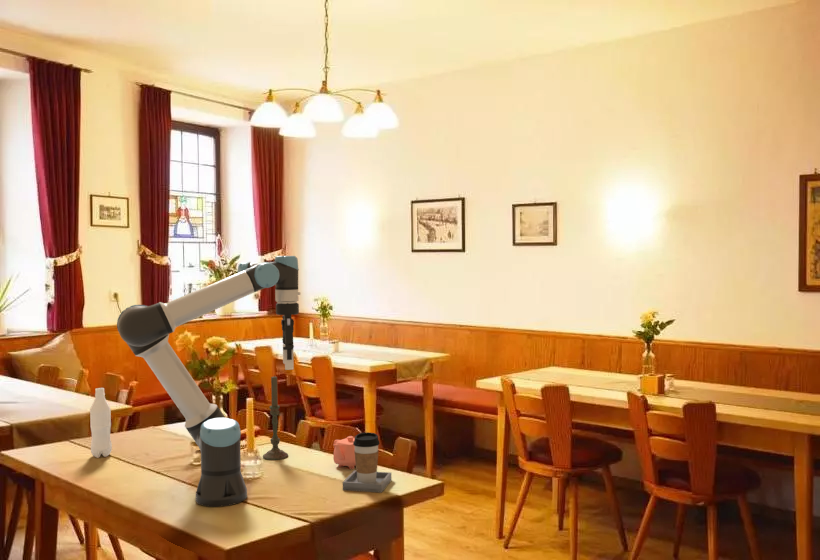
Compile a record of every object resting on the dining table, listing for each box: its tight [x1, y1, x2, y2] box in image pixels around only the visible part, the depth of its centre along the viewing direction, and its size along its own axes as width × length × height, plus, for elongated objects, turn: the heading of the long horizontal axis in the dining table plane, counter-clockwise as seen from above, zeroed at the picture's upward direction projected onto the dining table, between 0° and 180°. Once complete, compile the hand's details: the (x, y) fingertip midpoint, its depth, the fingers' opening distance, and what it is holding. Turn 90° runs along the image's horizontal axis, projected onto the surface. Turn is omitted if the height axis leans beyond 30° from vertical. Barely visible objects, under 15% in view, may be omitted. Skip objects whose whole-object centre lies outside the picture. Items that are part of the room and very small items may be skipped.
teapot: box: [332, 435, 356, 470], centre depth 256 cm, size 14×12×10 cm
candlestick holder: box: [262, 375, 289, 461], centre depth 267 cm, size 9×9×30 cm
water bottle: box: [89, 387, 113, 459], centre depth 270 cm, size 7×7×25 cm
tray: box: [342, 469, 392, 494], centre depth 234 cm, size 13×13×2 cm
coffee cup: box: [353, 431, 380, 483], centre depth 234 cm, size 8×8×15 cm
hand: (288, 366), depth 243 cm, fingers open, 13 cm apart
